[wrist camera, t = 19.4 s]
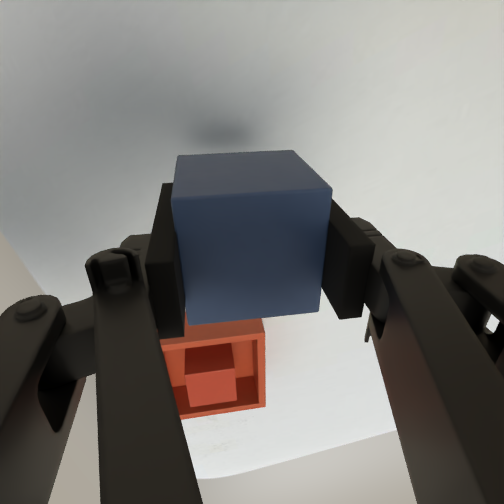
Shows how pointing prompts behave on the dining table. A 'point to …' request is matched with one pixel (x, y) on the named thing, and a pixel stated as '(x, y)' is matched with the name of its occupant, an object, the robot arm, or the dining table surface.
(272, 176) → the blue block
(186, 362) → the red block
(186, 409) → the red bin
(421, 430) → the robot arm
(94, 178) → the dining table surface
